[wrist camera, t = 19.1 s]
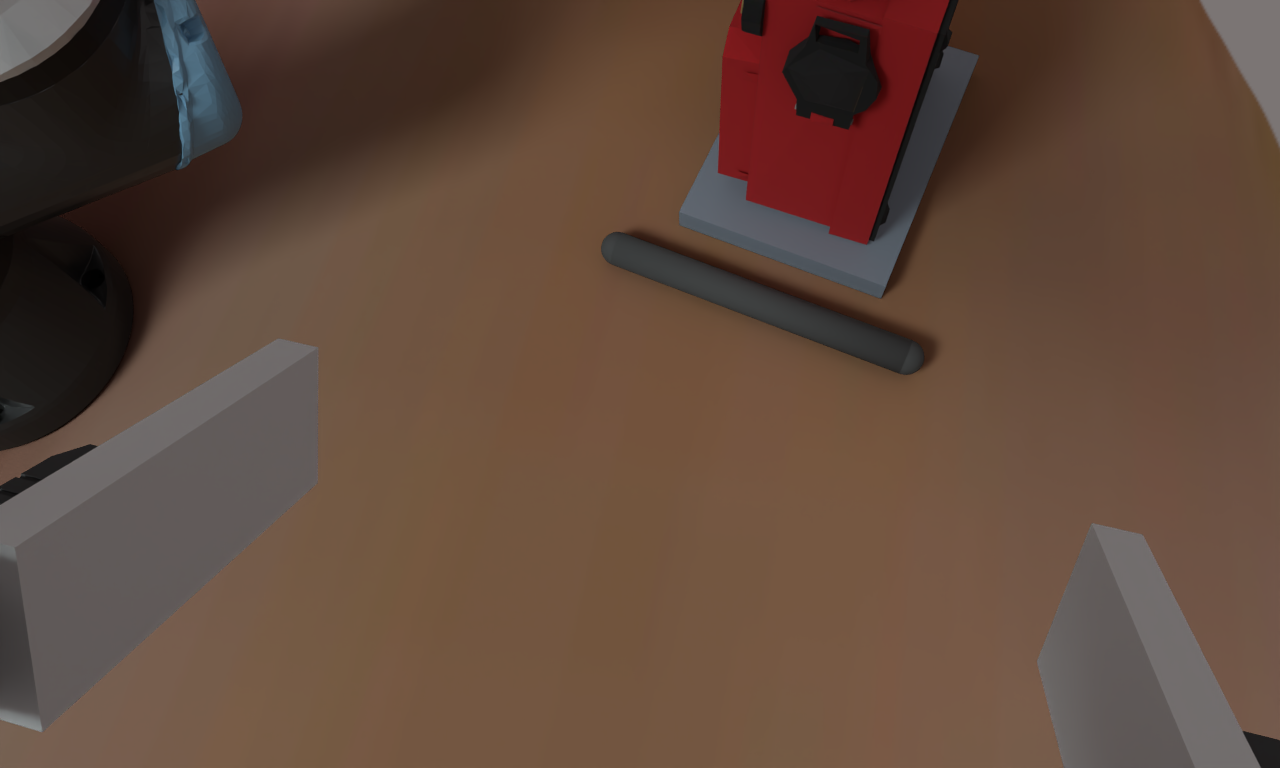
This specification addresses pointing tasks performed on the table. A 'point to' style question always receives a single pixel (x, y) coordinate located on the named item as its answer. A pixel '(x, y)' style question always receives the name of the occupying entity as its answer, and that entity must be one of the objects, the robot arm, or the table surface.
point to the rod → (764, 303)
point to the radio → (827, 103)
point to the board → (806, 243)
